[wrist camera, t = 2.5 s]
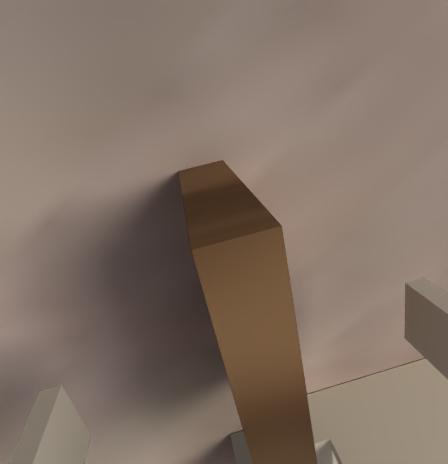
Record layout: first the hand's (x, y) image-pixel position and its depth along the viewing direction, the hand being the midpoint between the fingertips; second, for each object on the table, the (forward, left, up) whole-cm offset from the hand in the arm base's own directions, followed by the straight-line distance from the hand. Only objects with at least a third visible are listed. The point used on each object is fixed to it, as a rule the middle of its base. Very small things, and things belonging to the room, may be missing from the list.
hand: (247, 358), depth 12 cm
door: (0, 0, -5) cm, 5 cm away
